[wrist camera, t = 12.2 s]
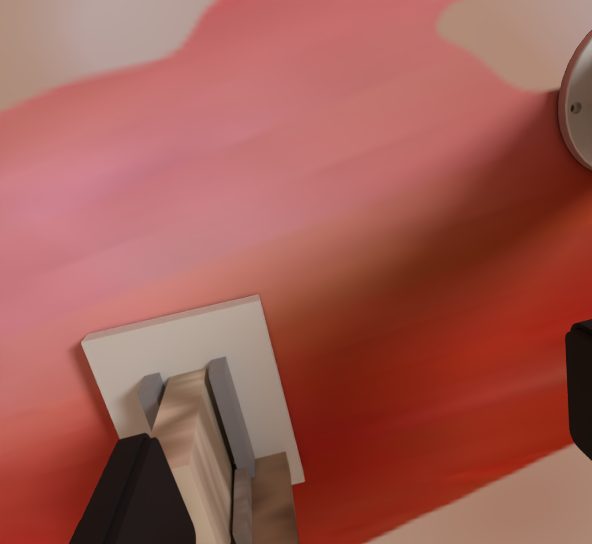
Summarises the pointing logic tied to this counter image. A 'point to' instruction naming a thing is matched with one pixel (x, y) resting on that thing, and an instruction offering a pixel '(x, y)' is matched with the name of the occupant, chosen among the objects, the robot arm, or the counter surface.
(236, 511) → the cabinet side
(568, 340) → the robot arm
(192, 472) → the beige rectangular block
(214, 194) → the counter surface
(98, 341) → the white tile with rails
